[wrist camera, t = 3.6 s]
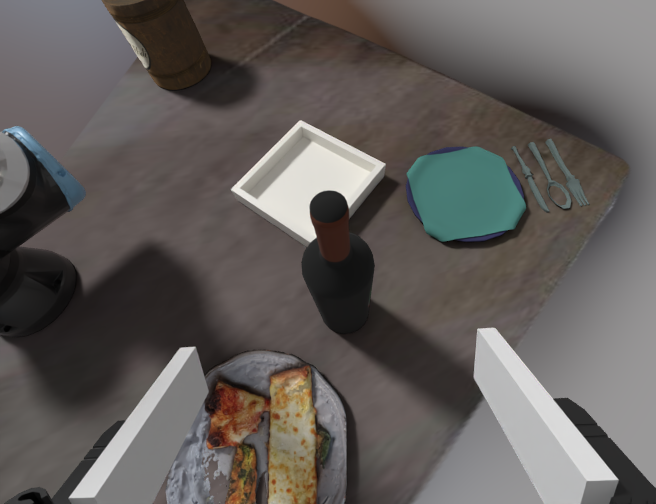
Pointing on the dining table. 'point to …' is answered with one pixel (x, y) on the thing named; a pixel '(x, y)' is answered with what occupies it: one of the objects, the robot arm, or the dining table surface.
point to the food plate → (265, 434)
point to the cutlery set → (476, 192)
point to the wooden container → (163, 40)
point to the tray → (306, 179)
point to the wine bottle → (337, 265)
